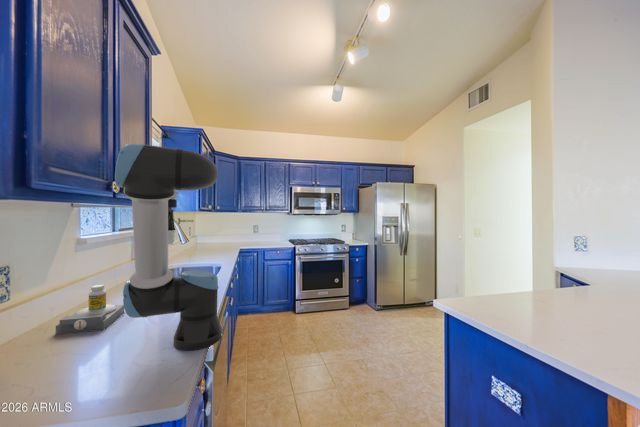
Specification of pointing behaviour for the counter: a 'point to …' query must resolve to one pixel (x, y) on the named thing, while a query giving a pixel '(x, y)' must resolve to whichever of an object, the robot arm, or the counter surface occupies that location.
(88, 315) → the scale
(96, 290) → the supplement bottle
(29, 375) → the counter surface
